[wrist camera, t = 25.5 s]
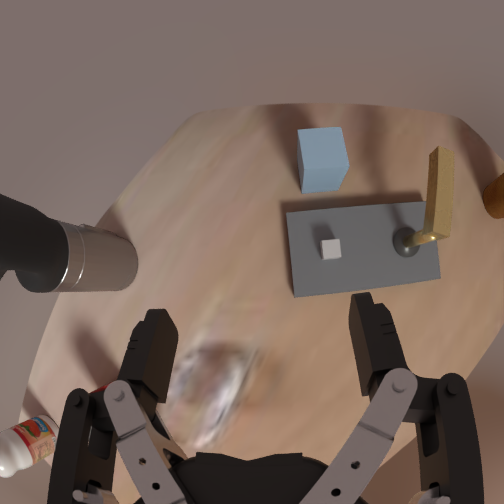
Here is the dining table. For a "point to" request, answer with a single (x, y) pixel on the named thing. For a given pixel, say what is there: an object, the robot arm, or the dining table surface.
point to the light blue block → (321, 159)
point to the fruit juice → (26, 444)
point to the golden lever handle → (436, 199)
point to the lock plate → (358, 248)
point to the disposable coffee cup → (495, 198)
